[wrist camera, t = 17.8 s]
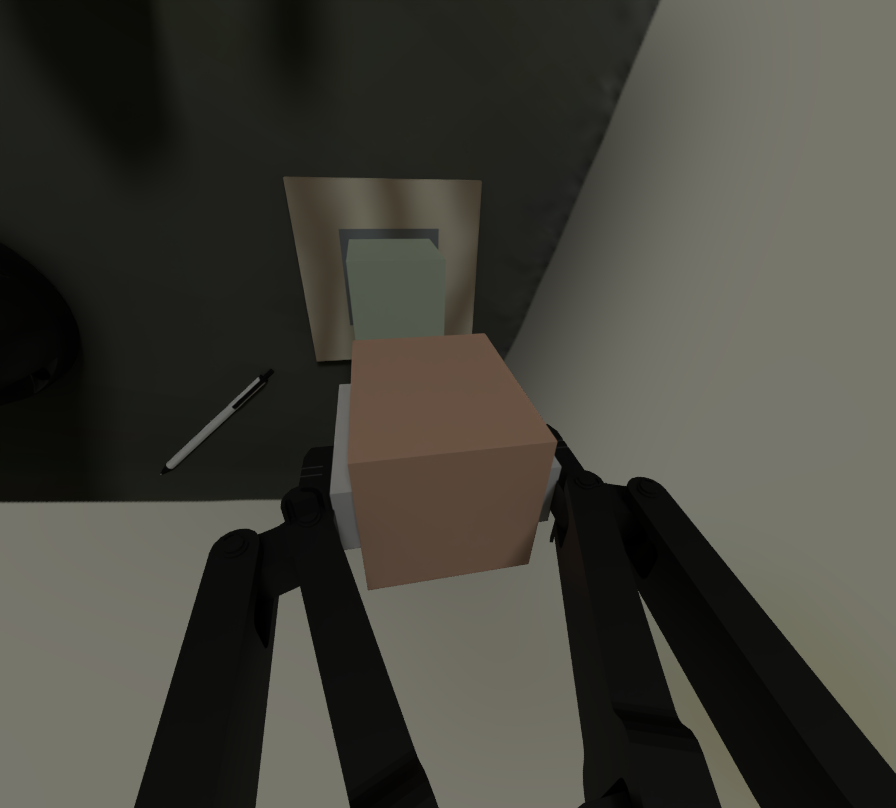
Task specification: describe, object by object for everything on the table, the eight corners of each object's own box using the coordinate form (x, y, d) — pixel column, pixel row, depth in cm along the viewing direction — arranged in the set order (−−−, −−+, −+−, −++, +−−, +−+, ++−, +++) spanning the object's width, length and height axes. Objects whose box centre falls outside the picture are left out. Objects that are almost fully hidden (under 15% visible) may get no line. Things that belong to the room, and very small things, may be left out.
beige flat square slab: (317, 357, 39) (316, 361, 38) (285, 176, 30) (282, 177, 29) (468, 348, 42) (470, 352, 41) (478, 180, 33) (482, 181, 32)
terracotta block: (365, 446, 20) (368, 590, 13) (352, 340, 17) (347, 464, 10) (476, 434, 21) (528, 564, 14) (484, 333, 18) (557, 441, 11)
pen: (276, 371, 40) (274, 376, 39) (166, 473, 44) (162, 480, 43) (269, 365, 39) (267, 370, 38) (158, 469, 43) (154, 476, 42)
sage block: (357, 317, 37) (356, 353, 30) (348, 239, 33) (346, 261, 26) (429, 314, 38) (443, 348, 31) (429, 238, 34) (445, 259, 27)
